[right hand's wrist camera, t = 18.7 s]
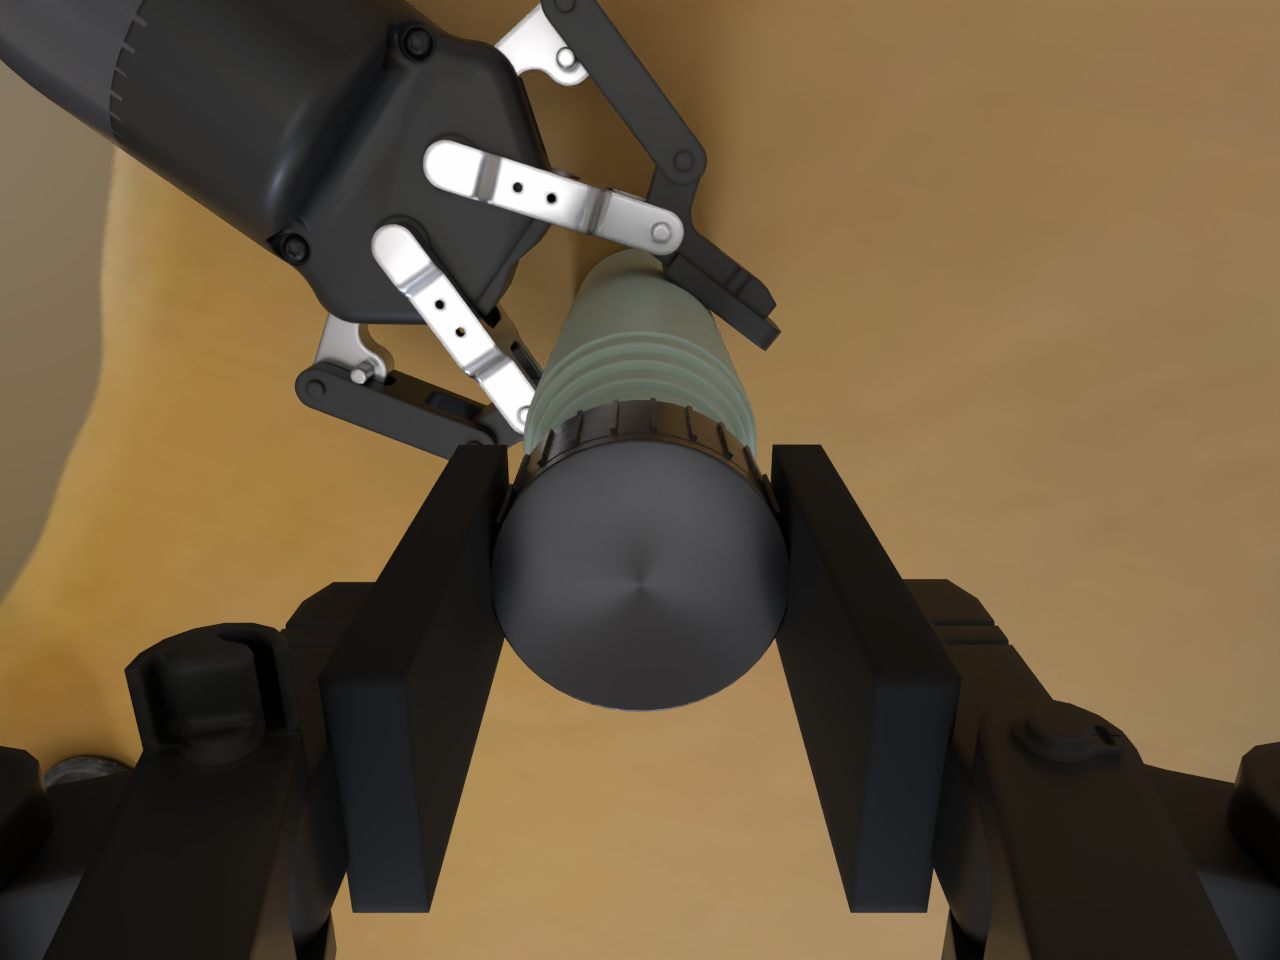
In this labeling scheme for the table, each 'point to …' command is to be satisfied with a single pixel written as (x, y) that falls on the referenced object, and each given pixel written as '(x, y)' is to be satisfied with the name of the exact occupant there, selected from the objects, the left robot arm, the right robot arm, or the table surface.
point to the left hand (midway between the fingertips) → (710, 405)
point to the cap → (640, 557)
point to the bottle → (638, 352)
